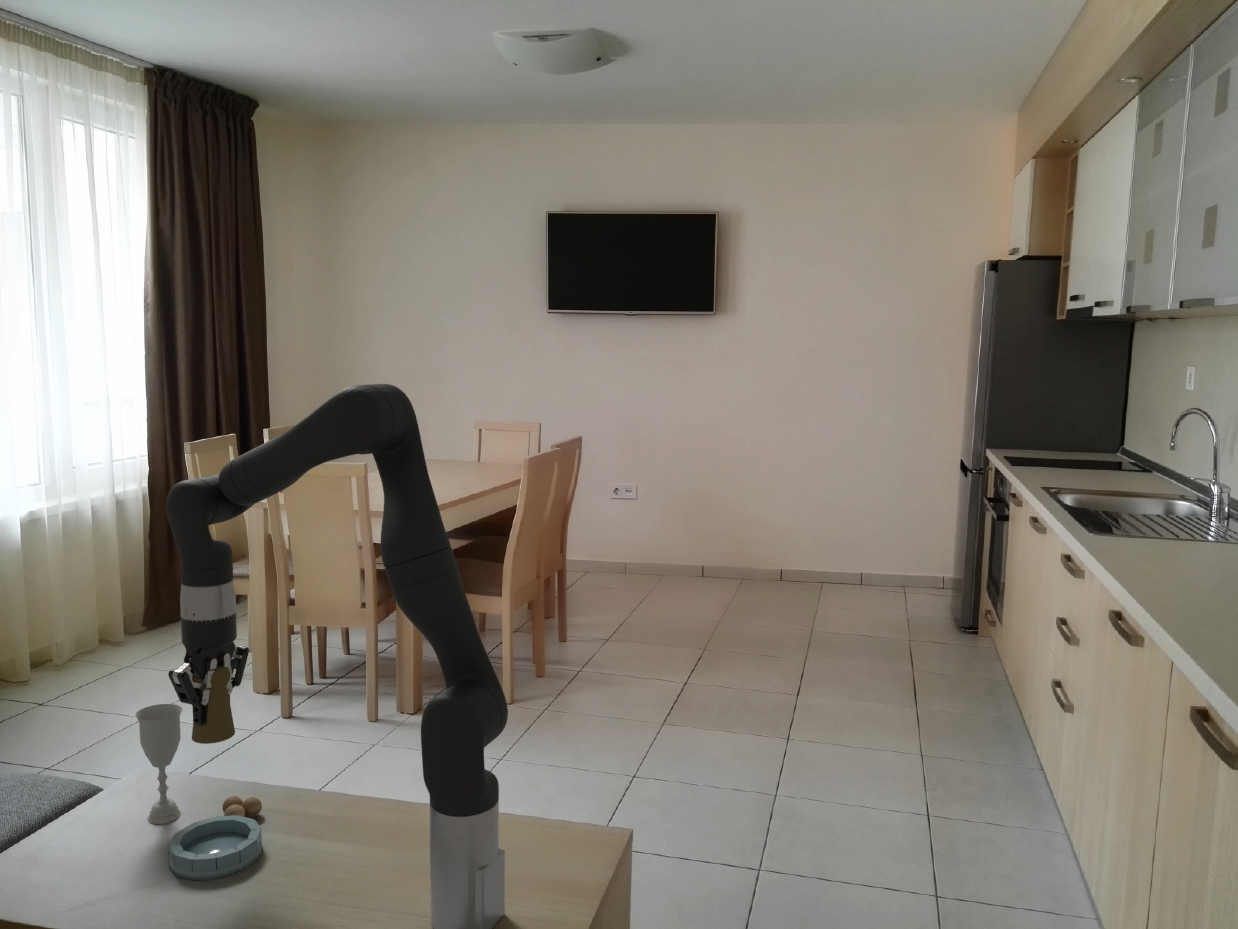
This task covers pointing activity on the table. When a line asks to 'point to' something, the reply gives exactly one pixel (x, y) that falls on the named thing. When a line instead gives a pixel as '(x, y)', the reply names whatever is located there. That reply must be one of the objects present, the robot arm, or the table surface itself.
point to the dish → (215, 847)
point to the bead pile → (242, 807)
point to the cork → (216, 710)
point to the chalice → (161, 752)
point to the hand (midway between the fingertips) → (212, 721)
